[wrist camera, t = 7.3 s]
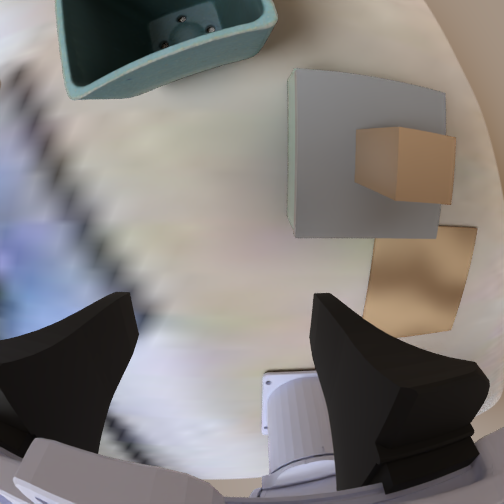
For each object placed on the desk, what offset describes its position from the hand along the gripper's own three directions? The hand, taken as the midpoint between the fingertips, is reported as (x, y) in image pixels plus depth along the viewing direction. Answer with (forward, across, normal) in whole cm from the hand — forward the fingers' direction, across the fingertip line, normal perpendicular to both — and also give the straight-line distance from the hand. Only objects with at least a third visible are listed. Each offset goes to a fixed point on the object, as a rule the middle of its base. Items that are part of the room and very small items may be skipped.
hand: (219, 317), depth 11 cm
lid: (+6, -8, -6) cm, 12 cm away
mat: (+10, -15, +4) cm, 18 cm away
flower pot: (+10, +3, -14) cm, 18 cm away
